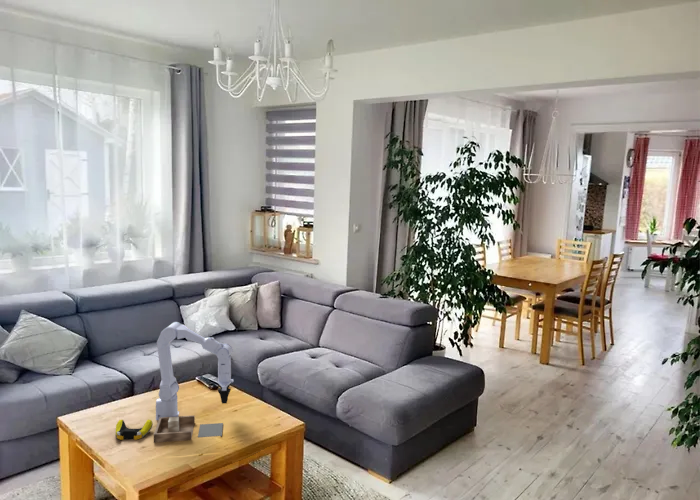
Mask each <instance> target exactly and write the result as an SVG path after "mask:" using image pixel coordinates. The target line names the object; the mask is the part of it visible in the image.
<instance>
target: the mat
mask: <svg viewBox="0 0 700 500" xmlns="http://www.w3.org/2000/svg"><path fill="white" fill-rule="evenodd" d="M223 426H224V422H218V423H202V424H199V428H198V433H197V434H198V435H197V438H208V437H209V438H210V437H211V438H212V437H220V438H222V436H223V430H224V429H223Z"/></svg>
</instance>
